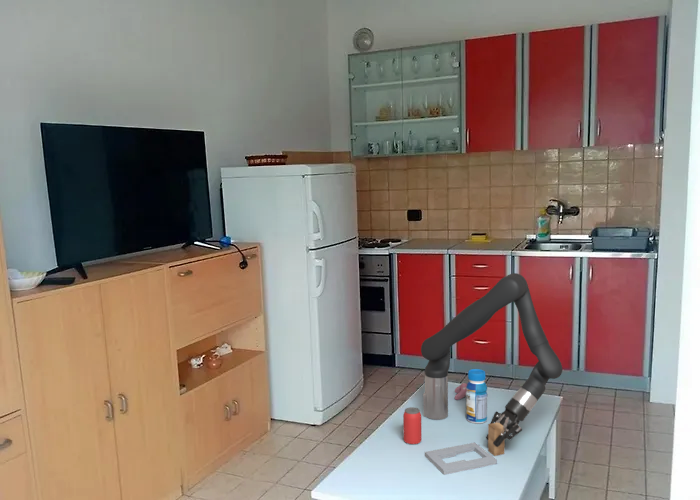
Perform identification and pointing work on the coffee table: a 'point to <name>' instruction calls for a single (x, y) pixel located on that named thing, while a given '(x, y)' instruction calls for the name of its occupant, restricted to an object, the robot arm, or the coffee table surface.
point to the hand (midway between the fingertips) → (491, 442)
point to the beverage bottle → (476, 397)
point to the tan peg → (493, 433)
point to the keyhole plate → (461, 465)
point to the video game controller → (461, 391)
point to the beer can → (412, 425)
